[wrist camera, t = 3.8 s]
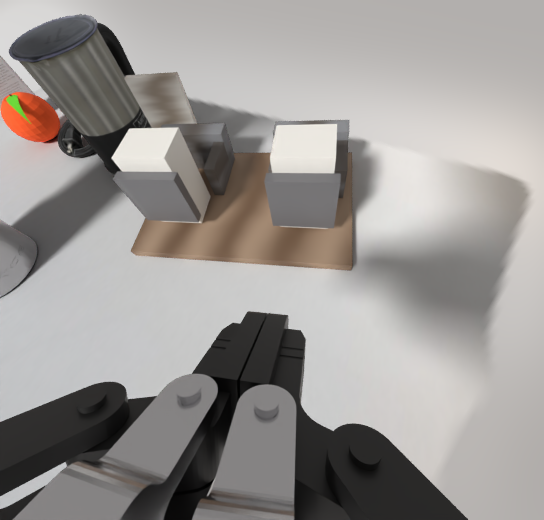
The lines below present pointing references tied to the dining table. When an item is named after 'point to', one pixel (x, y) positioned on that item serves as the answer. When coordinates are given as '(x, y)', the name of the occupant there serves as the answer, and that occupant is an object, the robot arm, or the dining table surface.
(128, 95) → the milk frother
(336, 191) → the button
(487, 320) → the dining table surface
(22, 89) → the skincare box
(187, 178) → the button
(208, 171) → the button board
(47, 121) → the clementine
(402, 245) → the dining table surface
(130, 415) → the robot arm
